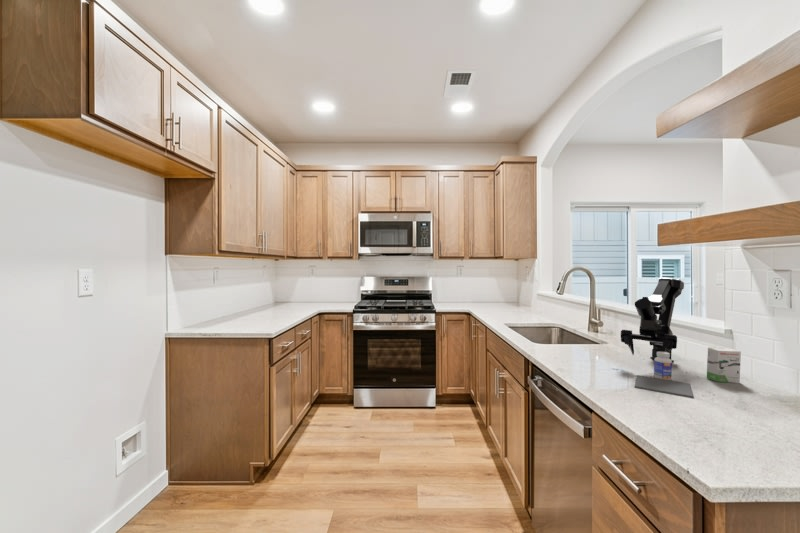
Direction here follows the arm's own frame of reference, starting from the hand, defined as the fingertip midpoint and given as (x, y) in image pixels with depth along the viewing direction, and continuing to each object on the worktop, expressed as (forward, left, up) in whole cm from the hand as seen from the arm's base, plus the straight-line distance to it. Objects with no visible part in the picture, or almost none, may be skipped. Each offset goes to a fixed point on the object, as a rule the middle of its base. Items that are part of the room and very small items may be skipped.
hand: (647, 356), depth 143 cm
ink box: (-24, +7, -7) cm, 26 cm away
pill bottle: (-2, +6, -7) cm, 9 cm away
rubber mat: (+5, +15, -7) cm, 17 cm away
